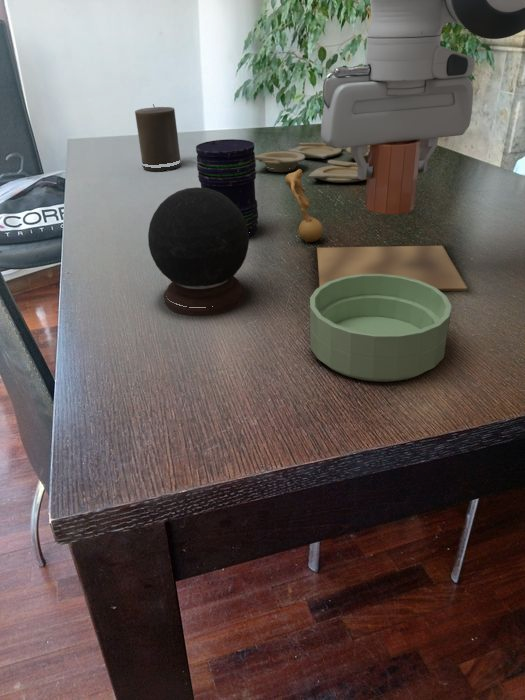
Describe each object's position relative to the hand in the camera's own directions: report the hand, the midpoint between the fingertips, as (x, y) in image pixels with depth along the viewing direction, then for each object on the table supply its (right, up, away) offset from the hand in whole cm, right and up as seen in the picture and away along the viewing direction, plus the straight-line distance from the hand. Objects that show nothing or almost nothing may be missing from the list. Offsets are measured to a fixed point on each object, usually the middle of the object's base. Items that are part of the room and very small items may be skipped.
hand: (392, 175), depth 78 cm
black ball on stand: (-26, -17, +1) cm, 31 cm away
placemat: (+1, -12, +7) cm, 14 cm away
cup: (0, -4, +2) cm, 4 cm away
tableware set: (-2, +21, +62) cm, 66 cm away
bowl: (-5, -24, -12) cm, 27 cm away
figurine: (-11, -6, +18) cm, 22 cm away
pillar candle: (-43, +23, +68) cm, 84 cm away
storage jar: (-23, -3, +23) cm, 33 cm away
